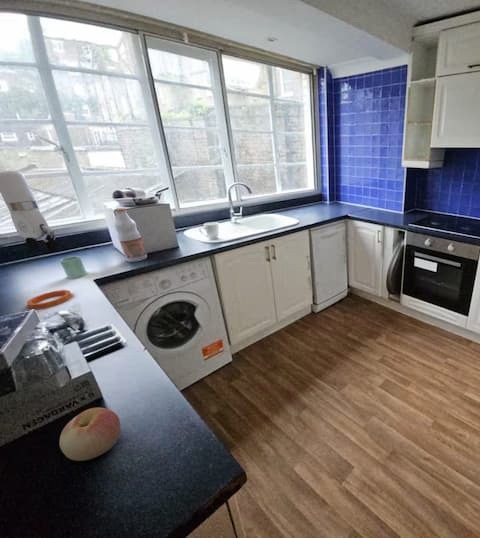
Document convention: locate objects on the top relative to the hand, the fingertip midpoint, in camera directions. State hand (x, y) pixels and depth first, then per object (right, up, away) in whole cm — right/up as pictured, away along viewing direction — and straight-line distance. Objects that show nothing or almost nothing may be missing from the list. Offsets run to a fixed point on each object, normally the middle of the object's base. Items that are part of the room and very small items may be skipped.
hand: (44, 250), depth 114 cm
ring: (-2, -20, +5) cm, 21 cm away
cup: (-14, -11, +28) cm, 33 cm away
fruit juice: (0, -2, +47) cm, 48 cm away
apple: (+70, -44, -55) cm, 99 cm away
